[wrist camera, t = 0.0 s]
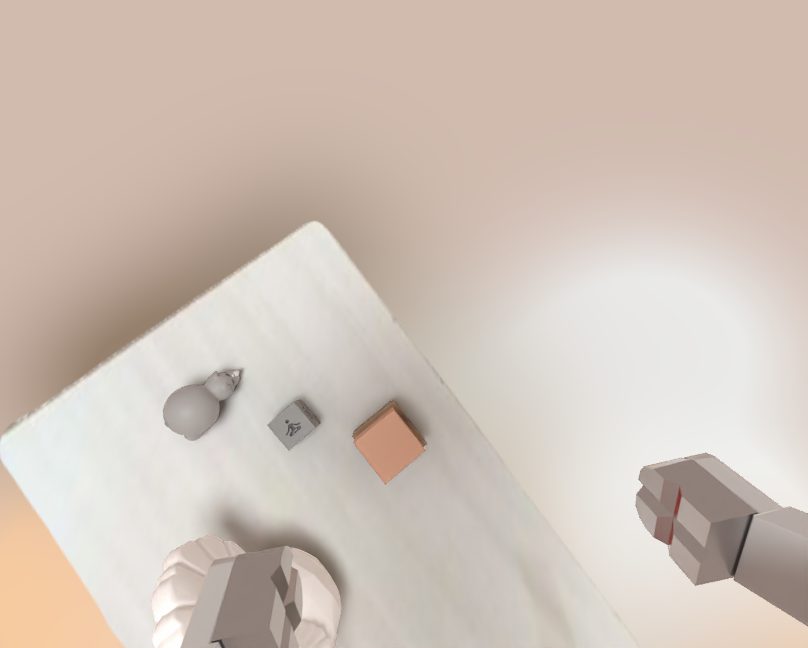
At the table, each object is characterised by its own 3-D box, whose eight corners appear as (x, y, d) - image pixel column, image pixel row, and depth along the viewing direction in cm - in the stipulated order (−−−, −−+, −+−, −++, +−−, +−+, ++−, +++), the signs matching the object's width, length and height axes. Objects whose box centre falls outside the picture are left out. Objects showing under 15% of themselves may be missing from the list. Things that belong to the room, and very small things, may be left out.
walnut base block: (423, 437, 62) (426, 443, 57) (384, 470, 61) (385, 478, 56) (392, 399, 62) (393, 402, 57) (354, 430, 61) (352, 436, 56)
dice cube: (296, 444, 60) (288, 450, 56) (276, 420, 61) (267, 424, 56) (320, 422, 61) (315, 427, 56) (300, 399, 61) (293, 402, 56)
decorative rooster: (362, 615, 58) (349, 797, 33) (269, 677, 56) (184, 918, 31) (284, 471, 60) (217, 541, 35) (191, 526, 58) (53, 642, 33)
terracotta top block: (421, 443, 57) (425, 450, 52) (384, 474, 56) (385, 484, 51) (392, 406, 57) (393, 410, 52) (355, 436, 56) (353, 443, 52)
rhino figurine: (256, 394, 63) (255, 382, 56) (192, 449, 57) (182, 444, 50) (226, 364, 64) (222, 348, 56) (159, 415, 58) (144, 405, 50)
